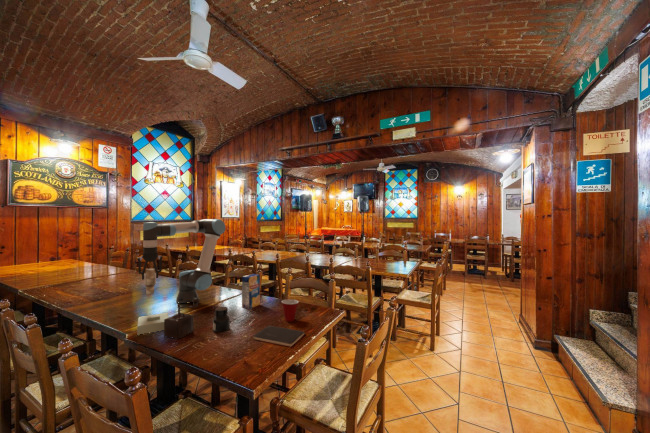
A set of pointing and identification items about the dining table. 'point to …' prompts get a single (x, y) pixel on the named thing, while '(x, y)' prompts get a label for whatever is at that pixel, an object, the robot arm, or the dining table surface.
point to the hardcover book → (279, 335)
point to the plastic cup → (290, 309)
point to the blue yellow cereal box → (250, 290)
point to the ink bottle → (221, 320)
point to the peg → (150, 281)
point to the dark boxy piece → (180, 322)
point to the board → (151, 323)
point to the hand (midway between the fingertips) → (150, 284)
